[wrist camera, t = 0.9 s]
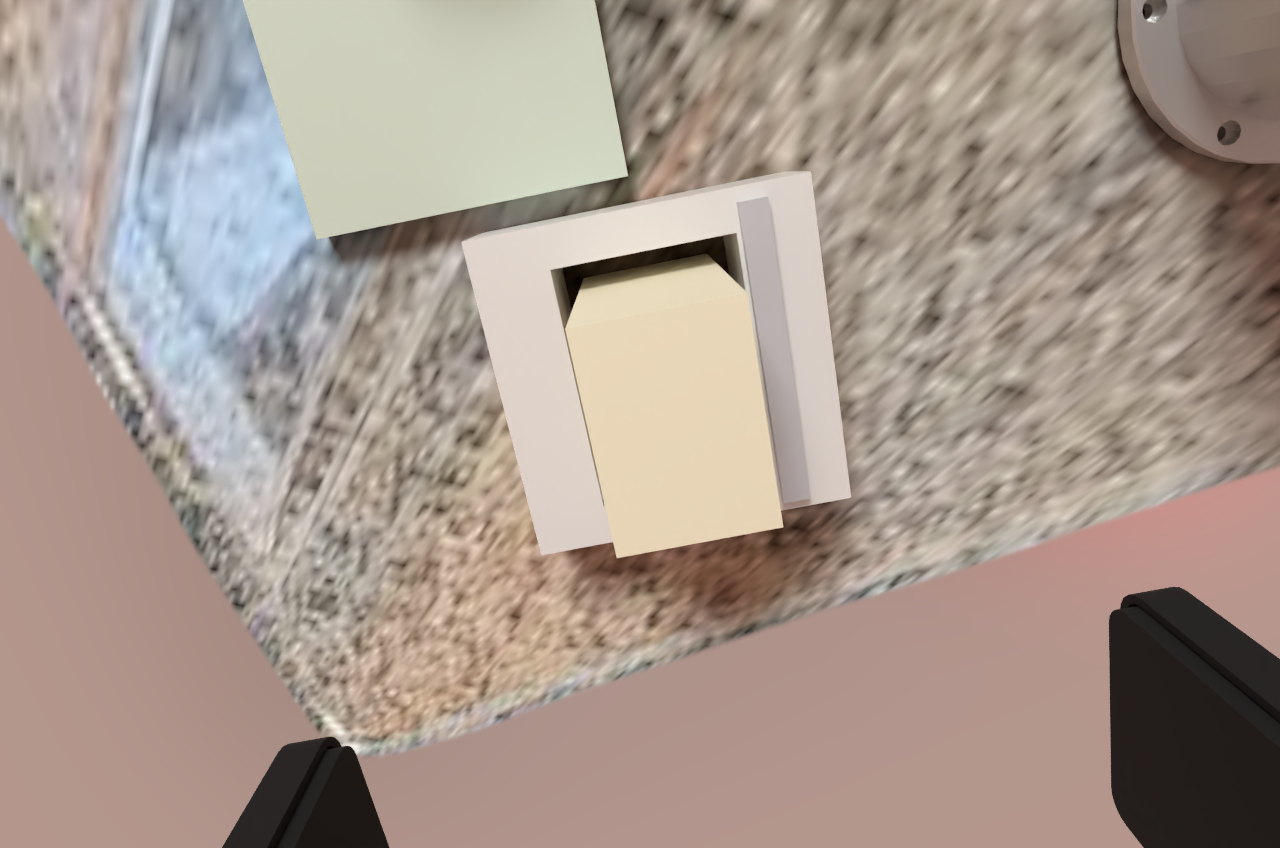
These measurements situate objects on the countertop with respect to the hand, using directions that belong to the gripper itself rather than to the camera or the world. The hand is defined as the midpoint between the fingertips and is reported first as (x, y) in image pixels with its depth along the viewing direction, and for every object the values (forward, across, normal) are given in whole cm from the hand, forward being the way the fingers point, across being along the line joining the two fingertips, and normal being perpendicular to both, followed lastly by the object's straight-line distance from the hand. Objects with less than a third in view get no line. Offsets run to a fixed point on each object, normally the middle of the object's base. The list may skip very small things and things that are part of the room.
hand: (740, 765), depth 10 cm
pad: (+24, +6, -11) cm, 28 cm away
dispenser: (+24, 0, 0) cm, 24 cm away
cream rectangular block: (+24, 0, 0) cm, 24 cm away
